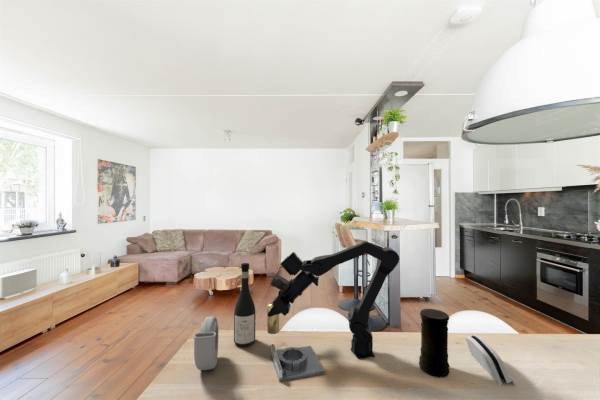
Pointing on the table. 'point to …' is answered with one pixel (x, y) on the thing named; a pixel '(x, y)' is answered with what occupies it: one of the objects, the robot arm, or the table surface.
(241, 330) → the wine bottle
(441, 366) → the container
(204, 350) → the grey curved holder
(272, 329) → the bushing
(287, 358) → the jig
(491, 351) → the grey curved piece
